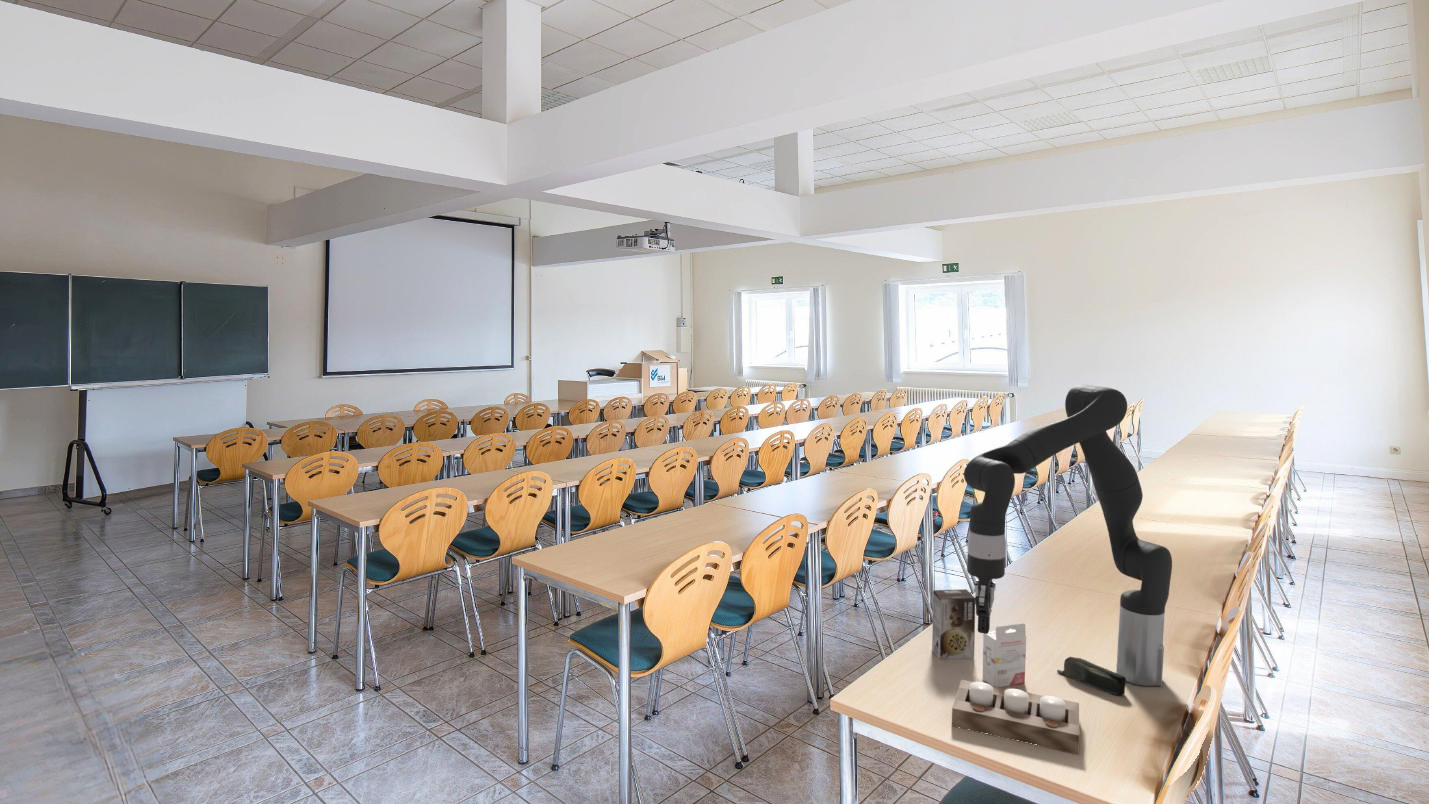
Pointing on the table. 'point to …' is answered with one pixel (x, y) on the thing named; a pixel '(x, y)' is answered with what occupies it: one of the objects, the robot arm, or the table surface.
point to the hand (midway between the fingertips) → (983, 631)
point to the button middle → (1016, 701)
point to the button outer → (981, 694)
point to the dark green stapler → (1094, 675)
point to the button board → (1017, 720)
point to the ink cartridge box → (1004, 655)
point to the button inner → (1052, 708)
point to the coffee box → (953, 624)
